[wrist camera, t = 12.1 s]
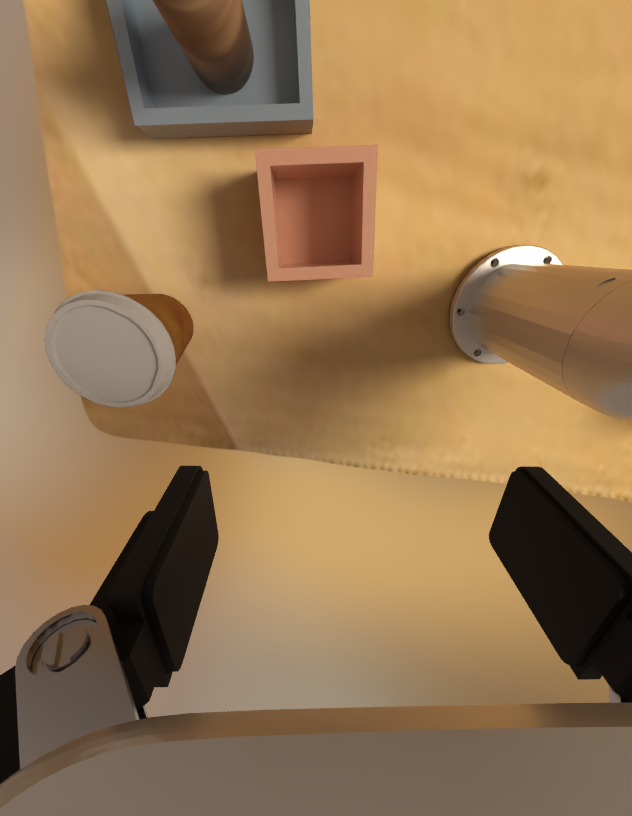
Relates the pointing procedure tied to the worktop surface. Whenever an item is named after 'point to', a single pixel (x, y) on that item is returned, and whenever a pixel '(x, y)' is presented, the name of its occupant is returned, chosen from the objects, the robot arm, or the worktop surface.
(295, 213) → the terracotta open box
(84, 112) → the worktop surface
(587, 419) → the worktop surface
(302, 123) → the tray
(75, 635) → the robot arm
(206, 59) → the peg
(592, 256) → the worktop surface
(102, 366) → the disposable coffee cup
